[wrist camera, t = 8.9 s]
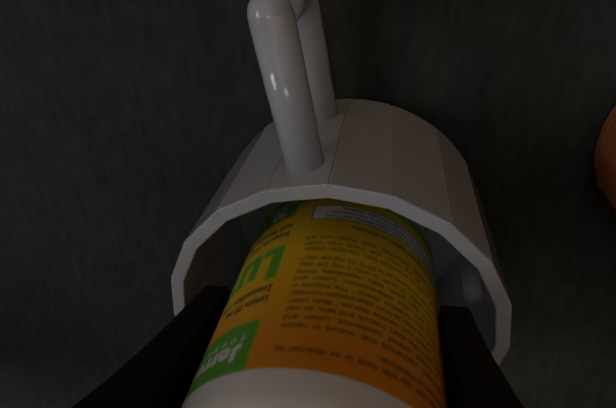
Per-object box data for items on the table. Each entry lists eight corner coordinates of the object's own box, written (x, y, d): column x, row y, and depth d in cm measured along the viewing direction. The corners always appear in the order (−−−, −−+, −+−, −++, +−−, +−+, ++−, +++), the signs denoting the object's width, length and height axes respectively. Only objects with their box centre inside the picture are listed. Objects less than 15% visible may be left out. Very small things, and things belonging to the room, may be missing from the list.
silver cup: (478, 300, 17) (506, 433, 13) (265, 305, 19) (226, 422, 15) (476, -73, 11) (529, -61, 6) (159, -3, 13) (37, 40, 8)
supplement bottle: (284, 149, 12) (77, 583, 4) (465, 214, 13) (585, 746, 5) (243, 281, 15) (77, 679, 7) (389, 331, 16) (381, 776, 8)
